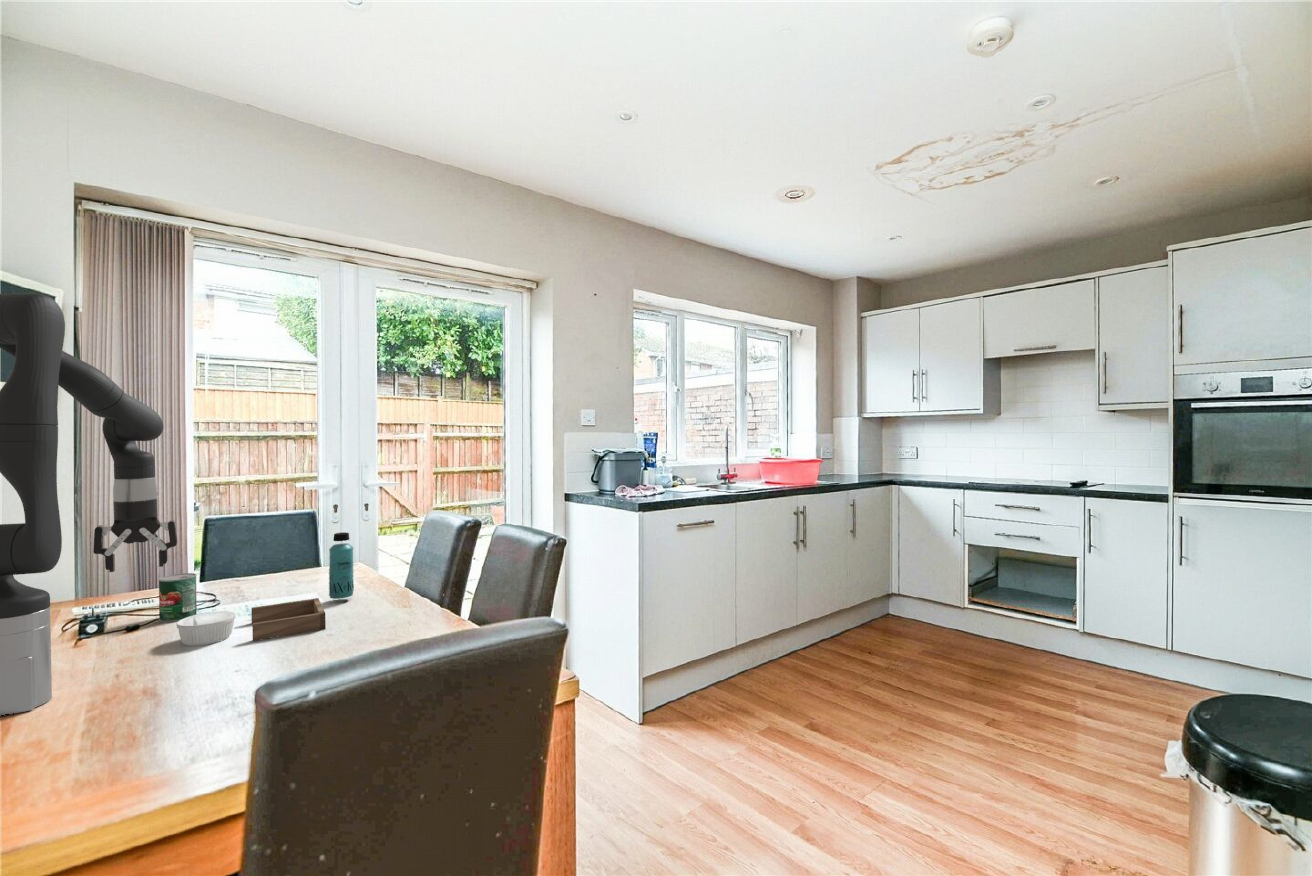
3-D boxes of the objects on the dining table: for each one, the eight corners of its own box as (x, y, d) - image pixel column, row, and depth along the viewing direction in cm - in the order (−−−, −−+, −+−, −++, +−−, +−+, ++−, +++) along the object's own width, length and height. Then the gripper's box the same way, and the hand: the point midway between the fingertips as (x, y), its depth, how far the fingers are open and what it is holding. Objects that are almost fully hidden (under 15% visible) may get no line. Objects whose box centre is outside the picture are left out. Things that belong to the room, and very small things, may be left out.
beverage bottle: (323, 602, 173) (323, 533, 173) (345, 596, 179) (344, 530, 179) (338, 605, 170) (337, 535, 170) (359, 599, 176) (358, 532, 176)
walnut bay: (325, 629, 150) (325, 613, 150) (252, 641, 142) (252, 624, 142) (318, 612, 164) (318, 598, 164) (251, 623, 155) (251, 607, 155)
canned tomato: (152, 623, 155) (152, 581, 155) (168, 614, 162) (167, 574, 162) (188, 620, 157) (187, 579, 157) (202, 612, 164) (201, 572, 164)
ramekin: (165, 645, 139) (164, 623, 139) (212, 630, 150) (212, 609, 150) (200, 650, 136) (199, 627, 136) (246, 634, 147) (246, 613, 147)
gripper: (89, 502, 128) (91, 577, 129) (174, 497, 136) (176, 567, 137) (95, 498, 134) (97, 569, 135) (176, 493, 143) (178, 561, 143)
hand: (137, 568), depth 136 cm, fingers open, 8 cm apart
